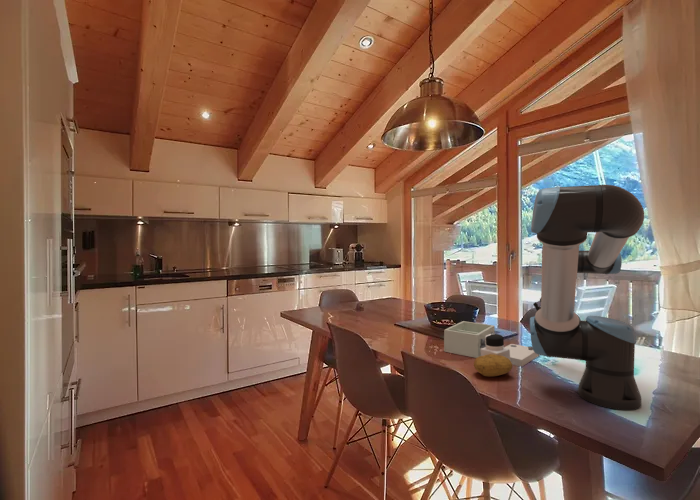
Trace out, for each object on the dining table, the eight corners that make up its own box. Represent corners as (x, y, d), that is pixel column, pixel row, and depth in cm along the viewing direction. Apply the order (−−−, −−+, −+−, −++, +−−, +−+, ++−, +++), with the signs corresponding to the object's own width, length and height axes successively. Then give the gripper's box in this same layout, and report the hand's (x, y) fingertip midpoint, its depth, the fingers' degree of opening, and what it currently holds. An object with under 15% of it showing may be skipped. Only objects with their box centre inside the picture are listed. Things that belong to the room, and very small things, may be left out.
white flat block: (521, 368, 138) (521, 357, 137) (492, 361, 145) (492, 350, 145) (539, 356, 150) (539, 346, 150) (511, 350, 158) (511, 341, 158)
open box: (487, 360, 145) (487, 336, 145) (444, 351, 156) (444, 329, 155) (503, 347, 161) (503, 326, 160) (462, 340, 171) (462, 321, 171)
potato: (470, 370, 134) (470, 351, 134) (506, 371, 133) (506, 351, 133) (478, 379, 124) (478, 358, 124) (517, 380, 124) (517, 359, 124)
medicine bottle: (511, 368, 134) (509, 335, 133) (498, 373, 130) (496, 339, 130) (493, 363, 140) (492, 331, 140) (481, 368, 136) (479, 335, 136)
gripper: (574, 285, 138) (573, 349, 139) (536, 282, 146) (535, 343, 147) (571, 288, 132) (570, 354, 133) (531, 285, 140) (530, 347, 141)
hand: (551, 348), depth 140 cm, fingers closed
